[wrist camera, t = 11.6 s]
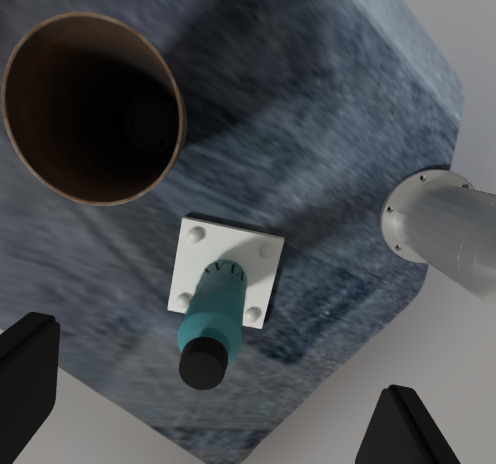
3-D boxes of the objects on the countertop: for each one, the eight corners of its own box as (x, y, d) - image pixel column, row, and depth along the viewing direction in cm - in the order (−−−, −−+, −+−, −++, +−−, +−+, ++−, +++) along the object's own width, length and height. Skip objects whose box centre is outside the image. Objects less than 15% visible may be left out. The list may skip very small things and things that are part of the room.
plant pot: (72, 133, 43) (-32, 130, 28) (135, 32, 40) (57, -37, 24) (166, 205, 45) (118, 239, 30) (233, 114, 42) (219, 100, 26)
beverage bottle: (254, 260, 46) (251, 349, 26) (241, 302, 47) (229, 413, 28) (208, 247, 45) (171, 327, 26) (197, 290, 47) (154, 394, 28)
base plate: (283, 237, 46) (284, 241, 44) (261, 324, 50) (261, 331, 48) (184, 216, 45) (181, 219, 44) (169, 305, 49) (166, 311, 47)
